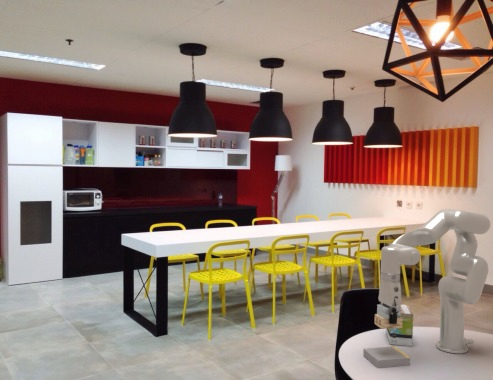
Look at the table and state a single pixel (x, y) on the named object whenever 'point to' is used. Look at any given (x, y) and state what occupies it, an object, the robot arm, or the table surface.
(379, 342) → the table surface
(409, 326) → the tea box
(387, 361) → the dock
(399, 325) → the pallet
